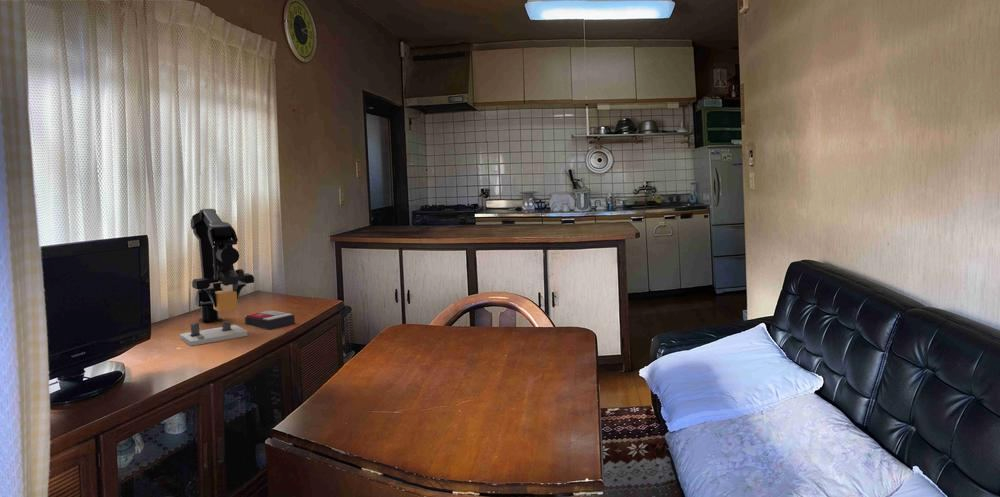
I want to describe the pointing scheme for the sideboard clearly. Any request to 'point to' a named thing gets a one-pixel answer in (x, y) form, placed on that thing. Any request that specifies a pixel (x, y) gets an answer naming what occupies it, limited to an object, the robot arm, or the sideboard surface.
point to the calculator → (270, 319)
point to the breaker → (195, 329)
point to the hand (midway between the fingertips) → (225, 305)
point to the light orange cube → (226, 300)
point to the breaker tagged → (226, 326)
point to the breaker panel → (213, 335)
